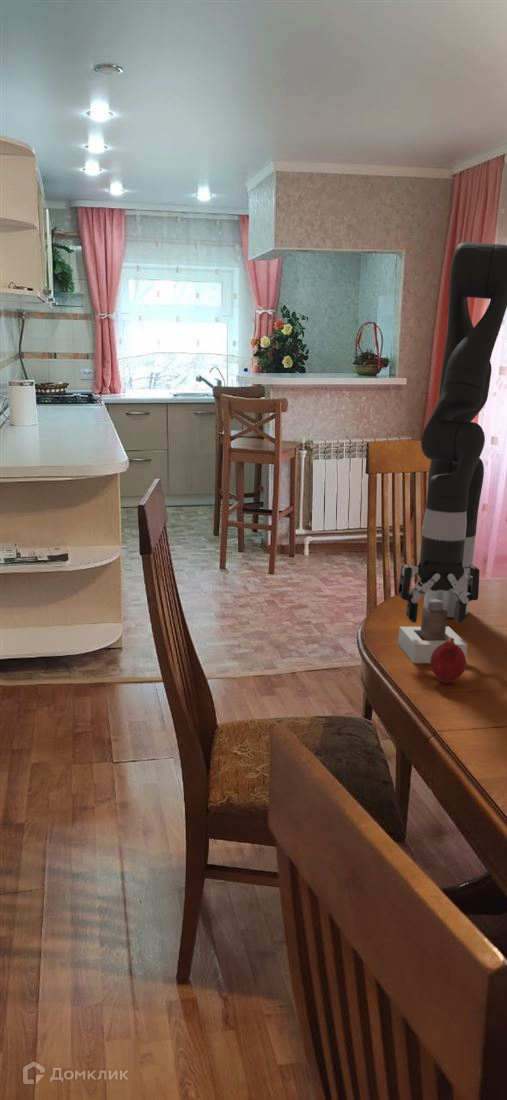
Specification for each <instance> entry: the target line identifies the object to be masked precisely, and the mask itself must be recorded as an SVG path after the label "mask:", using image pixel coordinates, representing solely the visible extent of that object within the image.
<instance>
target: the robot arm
mask: <svg viewBox="0 0 507 1100" xmlns="http://www.w3.org/2000/svg"><path fill="white" fill-rule="evenodd" d="M449 274H450V275H449V292H448V312H447V327H446V328H447V330H446V335H445V337H446V339H445V343H444V344H445V345H444V353H443V359H442V365H441V371H440V372H441V373H440V374H441V375H440V383H439V392H438V394H439V395H438V401H437V402H436V405H435V408H434V410H433V411H432V413H431V416H430V417H429V419H428V421H427V423H426V424H425V427H424V429H423V431H422V435H421V437H420V438H421V439H420V446H421V447H420V448H421V451H422V453H423V455H424V456H425V458H427V459H428V460H430V462H429V463H430V465H429V470H428V471H429V472H428V478H427V479H428V480H427V493H426V505H425V512H424V516H423V521H422V523H423V524H422V528H421V542H420V554H419V564H418V565H417V566H415V565H413V566H412V565H408V564H406V563H404V564H402V565H401V569H400V575H399V580H398V581H399V583H398V589H397V595H398V596H399V597H400V598H401V599H402V600H405V601H407V603H406V605H407V606H406V617H407V619H408V620H409V621H410V623H411V624H413V623H415V624H416V623H417V622H418V621H417V620H418V608H419V603H418V602H419V600H420V599H421V598H422V597H423V596H424V599H423V607H425V606H428V602H429V600H431V599H437V600H441V601H443V608H446V609H447V618H453V621H454V622H455V623H457V624H462V623H463V621H465V618H466V616H467V615H468V610H469V602H471V601H477V600H478V599H479V594H480V593H479V592H480V590H479V589H480V588H479V586H480V569H479V568H478V567H476V566H475V565H474V557H475V545H476V544H475V543H476V536H477V525H478V517H479V516H478V515H479V507H480V502H481V495H482V489H483V484H484V475H485V468H484V467H485V465H484V462H483V460H482V458H480V457H481V455H482V452H483V449H484V447H485V443H486V437H485V436H486V435H485V431H484V430H483V427H482V426H481V425H480V424H479V423H477V422H474V421H473V420H474V419H475V418H476V417H477V416H478V414H479V413H480V412H481V411H482V409H483V408H484V406H485V405H486V403H487V401H488V397H489V393H490V387H491V386H490V384H491V377H492V371H493V369H492V364H491V358H492V354H493V351H494V348H495V345H496V342H497V339H498V336H499V334H500V333H499V332H500V330H501V327H502V323H503V321H504V318H505V316H506V315H505V314H506V312H507V244H501V243H500V244H499V243H489V242H488V243H486V242H469V241H468V242H465V241H464V242H460V243H459V244H458V245H457V246H456V248H455V249H454V252H453V253H452V259H451V265H450V273H449ZM468 298H474V299H486V300H487V299H488V300H489V304H488V305H487V308H486V310H485V312H484V313H483V316H482V317H481V318H480V319H479V320H478V322H476V324H475V326H474V325H473V322H472V319H471V315H470V310H469V303H468ZM472 421H473V422H472ZM416 574H417V575H418V576H419V579H418V580H417V581H416V583H415V584H414V585H413V588H411V590H410V587H411V580H412V579H413V578H414V577H415V575H416Z"/></svg>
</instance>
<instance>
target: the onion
mask: <svg viewBox="0 0 507 1100" xmlns="http://www.w3.org/2000/svg"><path fill="white" fill-rule="evenodd" d="M466 667H467V657H466V658H465V655H464V653H463V651H462V650H461V648H460V647H459V646H457V645H456V644H455V643H454V639H453V638H452V637H450V638H448V640H447V641H446V643H444V644H442V645H440V646H438V647H437V648H436V649H435V650H434V652H433V653H432V656H431V663H430V669H431V671H432V673H433V674H434V675H435V676H436V678H438V680H439V681H441V682H442V683H444V684H450V683H451V682H454V681H456V680H457V679H459V677H461V676H462V675H463V673H464V672H465V671H466Z"/></svg>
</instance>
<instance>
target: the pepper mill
mask: <svg viewBox="0 0 507 1100" xmlns="http://www.w3.org/2000/svg"><path fill="white" fill-rule="evenodd" d="M447 621H448V617H447V609H446V608H443V601H441V600H437V599H431V600H429V602H428V606H425V607H424V606H422V613H421V623H420V627H421V632H420V638H421V639H422V641H444V640H445V631H446V627H447Z"/></svg>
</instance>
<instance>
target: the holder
mask: <svg viewBox="0 0 507 1100" xmlns="http://www.w3.org/2000/svg"><path fill="white" fill-rule="evenodd" d="M398 630H399V631H398V641H397V645H398V646H399V647H400V649H402V651H403V652H404V653H405V655H406V656H407V657H408V658H409V659H410V661H411V662H412V664H431V656H432V653H433V652H434V650H435V649H436V648H437V647H438V646H440V645H442V644H444V643H446V641H447V640H448V638H450V637H452V638H453V639H454V643H455V644H456V645H457V646H459V647H460V648H461V650H462V651H463V653H464V655H465V658H466V659H467V651H468V643H466V641H464V640H463V638H462V637H461V636H459V635H458V634H457V633H456V632H455V631H454V630H453V629H452V628H451V627H450V626H446V631H445V640H444V641H422V639H421V638H420V632H421V626H399V628H398Z"/></svg>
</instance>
